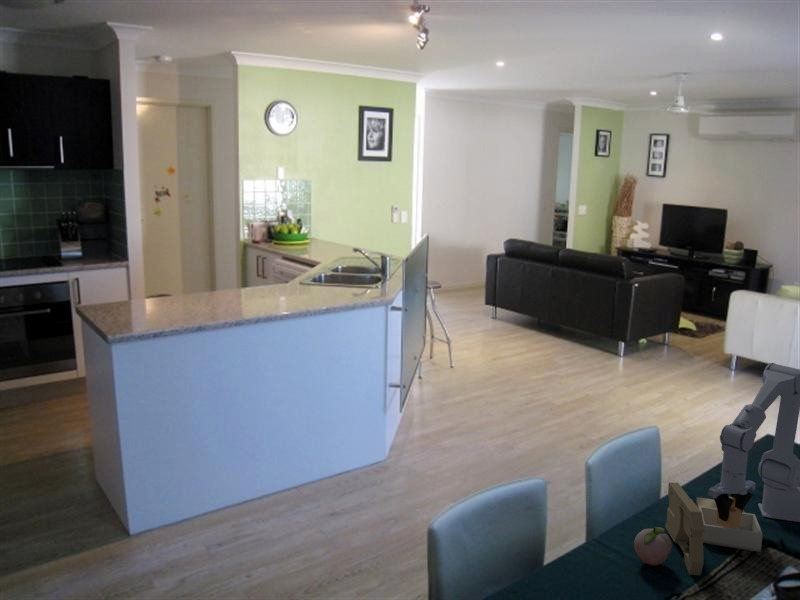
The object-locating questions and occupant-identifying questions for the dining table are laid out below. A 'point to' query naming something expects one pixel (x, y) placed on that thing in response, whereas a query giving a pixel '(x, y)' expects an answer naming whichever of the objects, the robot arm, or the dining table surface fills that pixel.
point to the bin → (731, 531)
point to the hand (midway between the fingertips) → (729, 518)
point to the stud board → (707, 503)
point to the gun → (686, 527)
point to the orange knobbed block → (731, 517)
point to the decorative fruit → (653, 545)
